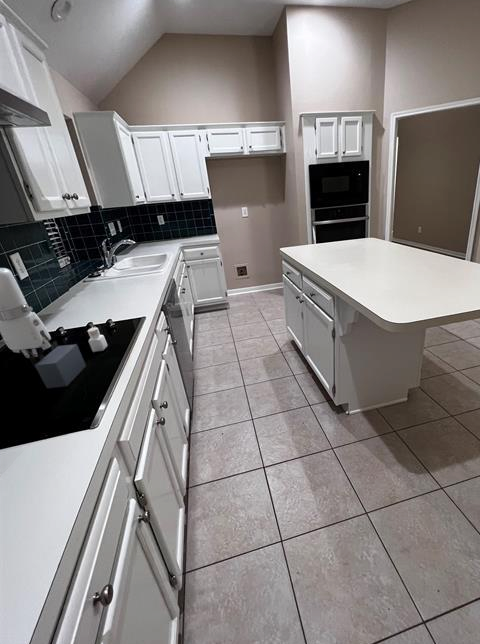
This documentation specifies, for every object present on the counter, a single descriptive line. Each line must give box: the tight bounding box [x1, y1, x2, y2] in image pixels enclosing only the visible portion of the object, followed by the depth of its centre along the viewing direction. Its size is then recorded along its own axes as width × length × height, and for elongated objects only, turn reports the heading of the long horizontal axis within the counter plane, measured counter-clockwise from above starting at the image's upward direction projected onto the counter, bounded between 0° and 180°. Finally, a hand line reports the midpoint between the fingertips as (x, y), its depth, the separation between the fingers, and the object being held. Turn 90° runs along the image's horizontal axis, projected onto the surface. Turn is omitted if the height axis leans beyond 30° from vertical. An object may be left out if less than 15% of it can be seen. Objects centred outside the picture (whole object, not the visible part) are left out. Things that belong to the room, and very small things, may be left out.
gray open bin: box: [35, 343, 87, 389], centre depth 98 cm, size 6×11×10 cm, turn 2°
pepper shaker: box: [87, 327, 108, 353], centre depth 113 cm, size 4×4×10 cm
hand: (41, 366), depth 97 cm, fingers closed
